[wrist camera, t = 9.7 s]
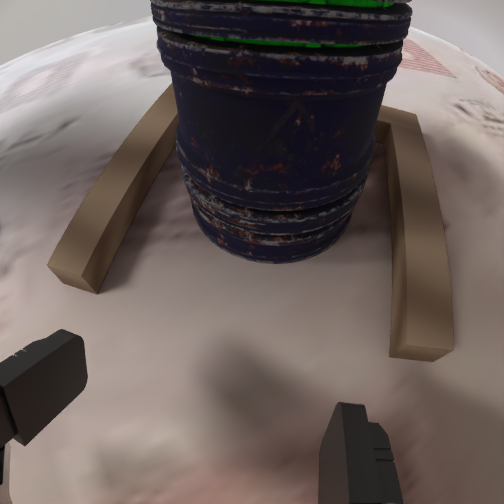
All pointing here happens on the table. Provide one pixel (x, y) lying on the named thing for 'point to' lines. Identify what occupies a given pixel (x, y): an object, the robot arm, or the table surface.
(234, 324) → the table surface
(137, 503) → the table surface
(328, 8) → the dark blue ridged cylinder
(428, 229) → the walnut bay
